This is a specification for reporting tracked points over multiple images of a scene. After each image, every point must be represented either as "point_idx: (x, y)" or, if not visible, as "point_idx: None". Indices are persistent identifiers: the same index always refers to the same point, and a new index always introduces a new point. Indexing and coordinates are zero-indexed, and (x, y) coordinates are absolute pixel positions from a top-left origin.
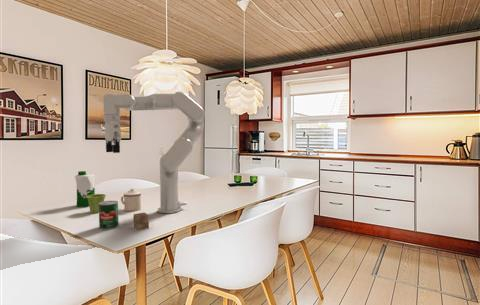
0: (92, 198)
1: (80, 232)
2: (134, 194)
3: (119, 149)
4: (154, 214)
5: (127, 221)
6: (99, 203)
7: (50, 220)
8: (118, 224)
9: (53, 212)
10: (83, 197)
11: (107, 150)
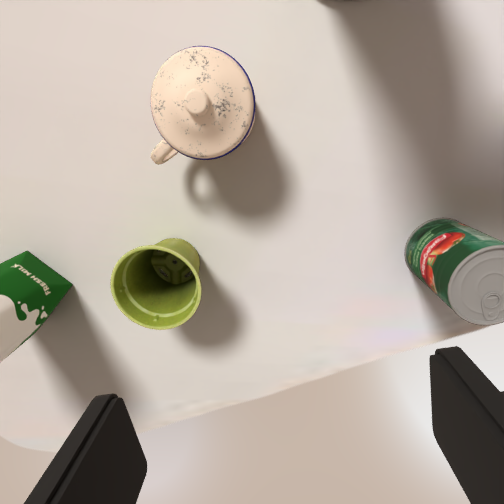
0: (194, 306)
1: (437, 331)
2: (251, 102)
3: (488, 385)
4: (377, 33)
5: (412, 177)
6: (473, 320)
7: (230, 395)
8: (452, 220)
9: (116, 387)
10: (44, 318)
11: (136, 481)
